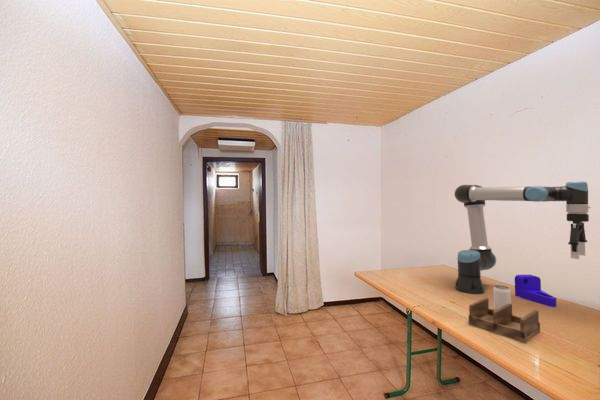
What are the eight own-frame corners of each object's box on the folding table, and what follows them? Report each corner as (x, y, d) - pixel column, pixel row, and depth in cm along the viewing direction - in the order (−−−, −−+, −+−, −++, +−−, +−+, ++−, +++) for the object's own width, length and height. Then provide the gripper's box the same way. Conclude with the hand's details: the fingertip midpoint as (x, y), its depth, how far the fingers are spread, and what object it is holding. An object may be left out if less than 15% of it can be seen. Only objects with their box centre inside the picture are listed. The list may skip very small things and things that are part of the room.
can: (513, 314, 126) (513, 289, 127) (498, 314, 128) (497, 288, 128) (506, 309, 133) (505, 285, 133) (491, 308, 134) (490, 284, 134)
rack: (468, 323, 118) (468, 304, 118) (485, 315, 127) (484, 297, 127) (526, 342, 101) (525, 320, 101) (540, 331, 110) (539, 311, 110)
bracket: (515, 295, 153) (514, 274, 154) (533, 295, 154) (533, 274, 154) (544, 307, 135) (543, 284, 136) (565, 307, 136) (564, 283, 136)
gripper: (582, 214, 121) (583, 261, 121) (593, 212, 135) (594, 255, 135) (560, 213, 127) (561, 258, 127) (572, 212, 142) (573, 252, 141)
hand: (578, 256), depth 131 cm, fingers open, 13 cm apart
